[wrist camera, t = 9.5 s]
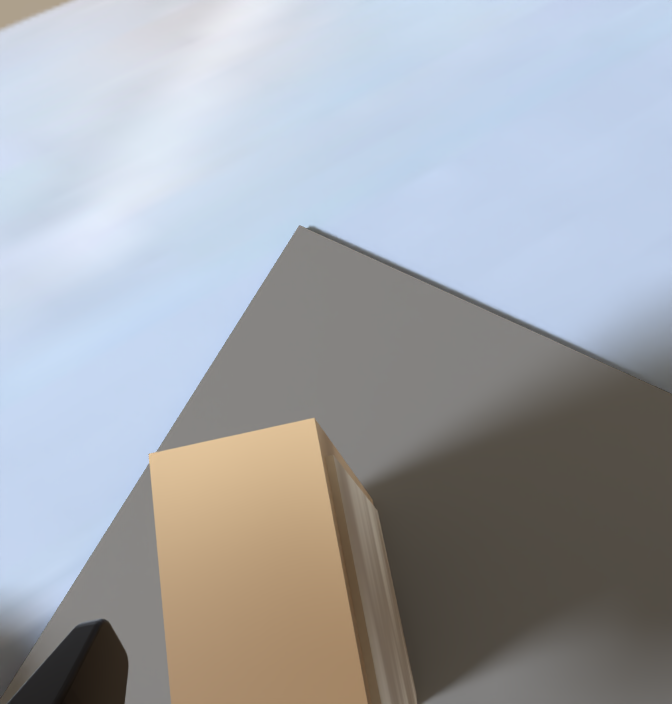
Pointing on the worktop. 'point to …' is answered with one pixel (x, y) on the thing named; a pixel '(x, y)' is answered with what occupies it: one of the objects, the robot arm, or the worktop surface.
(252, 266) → the worktop surface
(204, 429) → the mat
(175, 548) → the board
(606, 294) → the worktop surface
